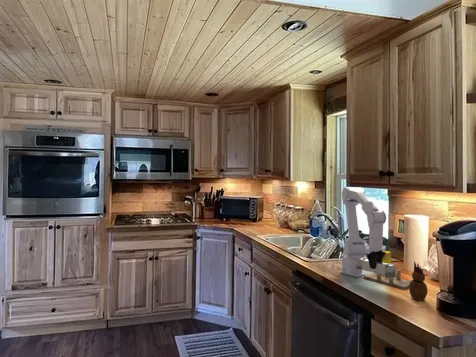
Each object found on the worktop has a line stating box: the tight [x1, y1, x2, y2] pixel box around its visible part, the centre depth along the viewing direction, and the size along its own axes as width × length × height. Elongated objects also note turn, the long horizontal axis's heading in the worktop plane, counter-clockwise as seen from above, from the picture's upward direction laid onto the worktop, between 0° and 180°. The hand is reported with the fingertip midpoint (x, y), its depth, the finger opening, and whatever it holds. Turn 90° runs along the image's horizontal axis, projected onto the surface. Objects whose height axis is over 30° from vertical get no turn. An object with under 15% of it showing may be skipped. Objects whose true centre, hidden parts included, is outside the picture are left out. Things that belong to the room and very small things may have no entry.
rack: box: [362, 268, 412, 290], centre depth 165 cm, size 20×11×6 cm, turn 38°
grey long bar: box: [356, 258, 398, 278], centre depth 157 cm, size 19×5×4 cm, turn 38°
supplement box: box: [382, 250, 392, 264], centre depth 182 cm, size 6×6×11 cm
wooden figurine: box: [408, 261, 428, 302], centre depth 142 cm, size 7×6×15 cm
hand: (375, 267), depth 157 cm, fingers closed on grey long bar, 3 cm apart
